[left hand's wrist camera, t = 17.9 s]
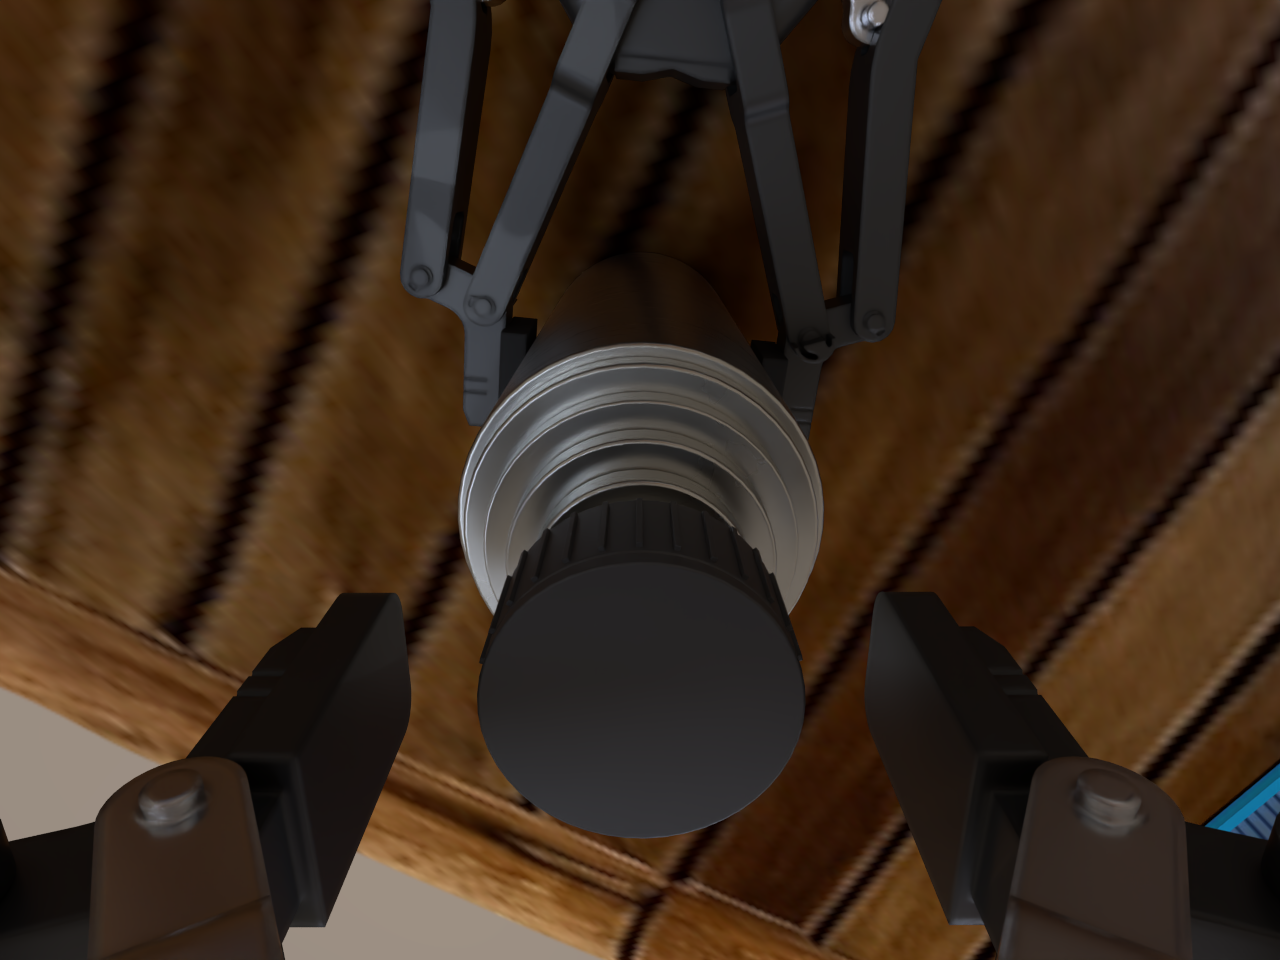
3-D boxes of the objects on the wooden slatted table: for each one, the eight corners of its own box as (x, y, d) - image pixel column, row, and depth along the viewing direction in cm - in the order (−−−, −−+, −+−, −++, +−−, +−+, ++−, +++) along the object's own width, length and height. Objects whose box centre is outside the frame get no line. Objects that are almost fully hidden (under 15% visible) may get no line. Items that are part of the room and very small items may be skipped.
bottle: (698, 452, 33) (799, 934, 12) (530, 404, 33) (332, 829, 12) (756, 282, 31) (1001, 520, 10) (576, 227, 30) (431, 358, 9)
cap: (806, 510, 12) (838, 575, 10) (760, 755, 13) (781, 854, 11) (504, 481, 11) (478, 542, 10) (492, 733, 13) (467, 829, 11)
